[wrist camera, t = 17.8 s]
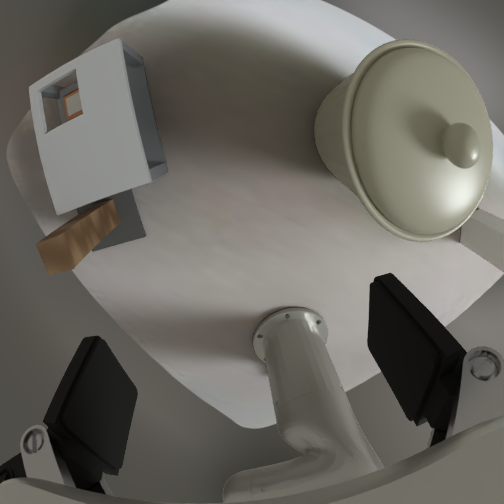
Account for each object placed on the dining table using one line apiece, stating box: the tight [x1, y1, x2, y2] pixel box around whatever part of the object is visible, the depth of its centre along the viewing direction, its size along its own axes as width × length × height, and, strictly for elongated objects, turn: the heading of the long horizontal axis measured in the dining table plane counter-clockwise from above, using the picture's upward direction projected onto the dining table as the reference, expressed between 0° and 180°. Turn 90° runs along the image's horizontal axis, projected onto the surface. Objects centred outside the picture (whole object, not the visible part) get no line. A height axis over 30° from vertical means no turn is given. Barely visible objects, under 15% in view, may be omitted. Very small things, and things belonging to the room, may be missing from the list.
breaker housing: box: [29, 38, 168, 216], centre depth 26 cm, size 16×12×9 cm
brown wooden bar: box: [36, 199, 121, 275], centre depth 28 cm, size 3×3×14 cm
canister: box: [314, 39, 493, 242], centre depth 23 cm, size 18×18×21 cm
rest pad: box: [77, 189, 146, 252], centre depth 34 cm, size 9×9×1 cm
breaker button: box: [63, 89, 83, 121], centre depth 26 cm, size 3×3×4 cm
